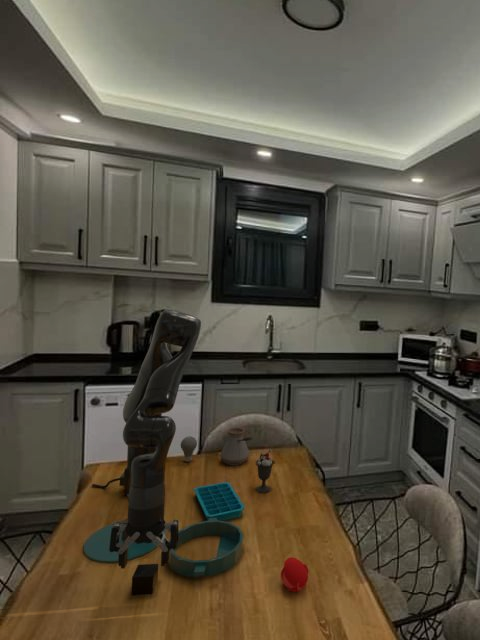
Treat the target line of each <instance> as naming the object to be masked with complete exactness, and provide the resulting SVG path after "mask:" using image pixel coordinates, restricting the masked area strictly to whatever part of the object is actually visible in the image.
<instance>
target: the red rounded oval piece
mask: <svg viewBox="0 0 480 640" xmlns="http://www.w3.org/2000/svg"><path fill="white" fill-rule="evenodd" d="M280 580H281V582H282V583H283V585H284V586H285V589H286V590H288V591H290V592H293V593H297V592H299V591H301V590H302V589H303V588H304V587H305V586H306V585H307V583H308V580H309V568H308V566H307V564H305V563H303V562H302V561H301V560H300V559H298V558H297V557H294V556H293V557H292V556H291V557H287V558H286V559H285V561H284V563H283V567H282V569H281V571H280Z"/></svg>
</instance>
